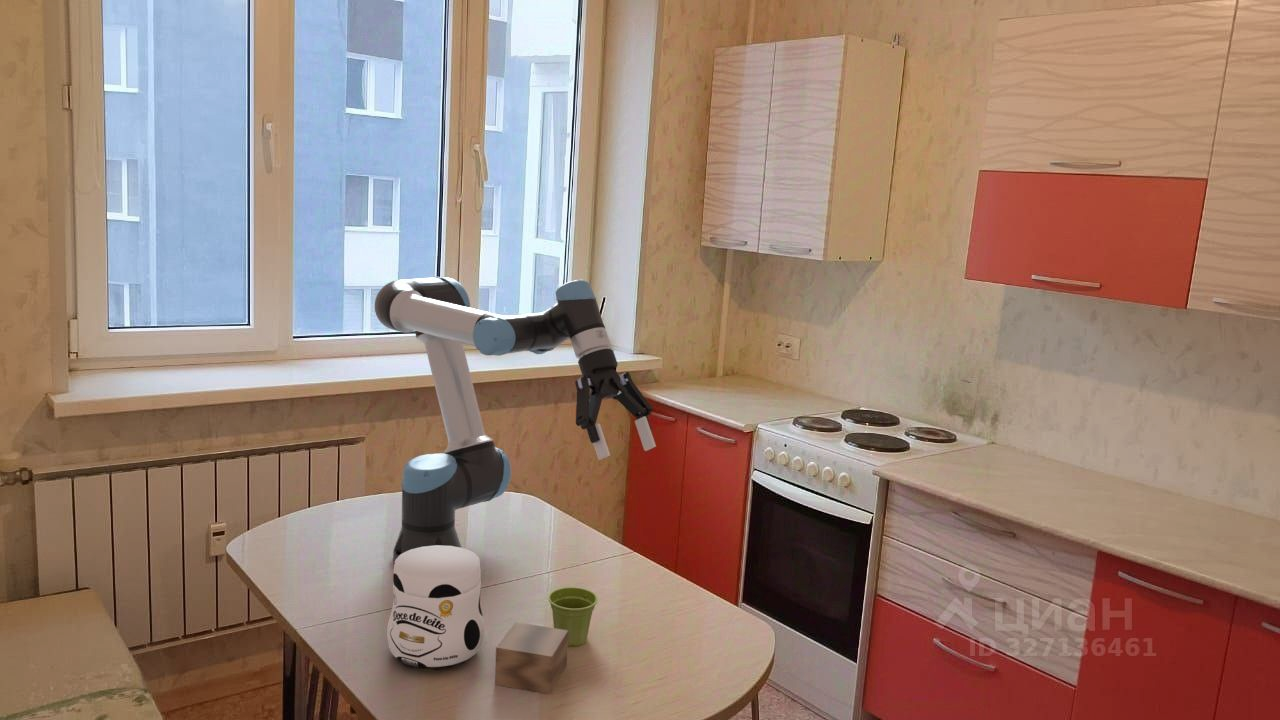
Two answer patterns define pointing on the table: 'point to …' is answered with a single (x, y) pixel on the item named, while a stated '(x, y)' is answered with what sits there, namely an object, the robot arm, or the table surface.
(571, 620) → the plant pot
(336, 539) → the table surface
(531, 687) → the walnut block
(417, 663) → the milk container
